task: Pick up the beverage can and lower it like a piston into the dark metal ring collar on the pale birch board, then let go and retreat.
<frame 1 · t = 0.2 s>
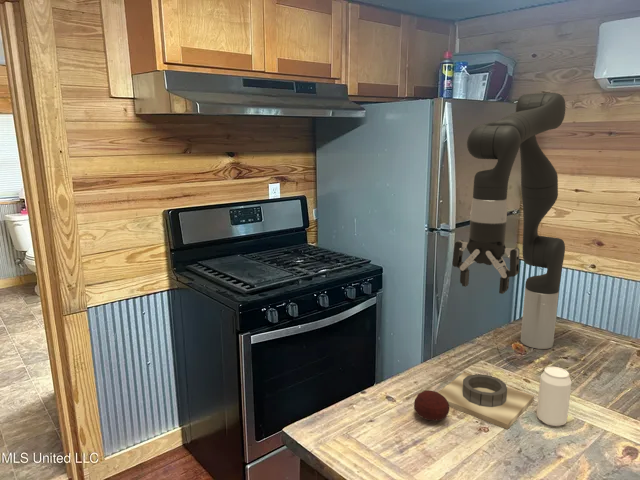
hand: (483, 289, 112), 29 cm above the table, fingers open, 8 cm apart
beverage can: (551, 421, 111), on the table
ring board: (483, 400, 119), on the table
potato: (429, 418, 112), on the table
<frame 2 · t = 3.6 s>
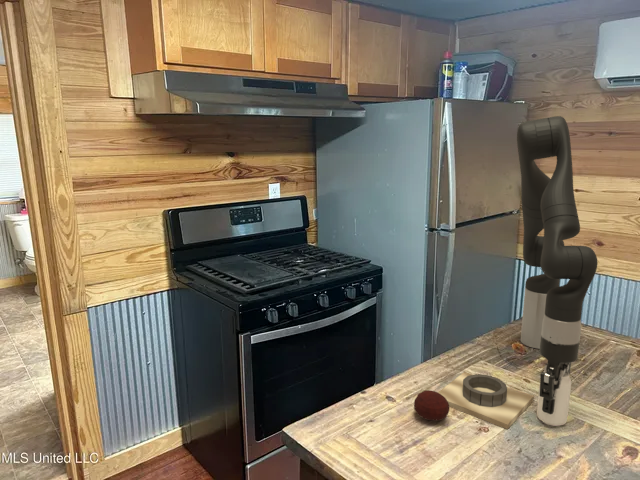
hand: (552, 406, 110), 4 cm above the table, fingers closed on beverage can, 6 cm apart
beverage can: (551, 421, 111), on the table, touching gripper
everything else where it was.
when the fingers open (6 cm above the table, at t = 8.6 s): beverage can drops 1 cm, resting on ring board.
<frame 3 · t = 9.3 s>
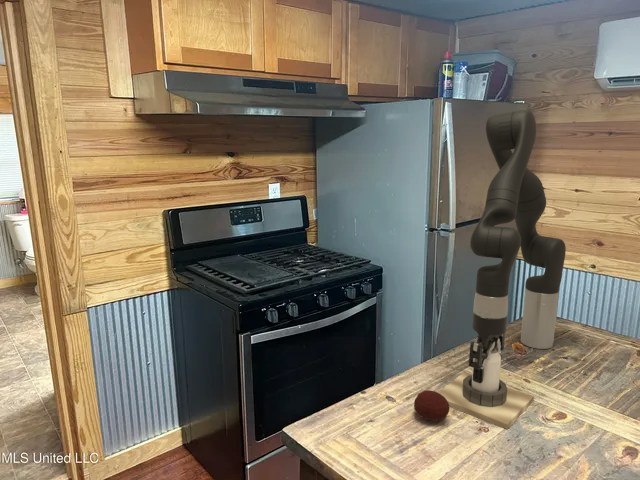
hand: (485, 375, 118), 7 cm above the table, fingers open, 8 cm apart
beverage can: (484, 396, 119), point 1 cm above the table, touching ring board
everything else where it was.
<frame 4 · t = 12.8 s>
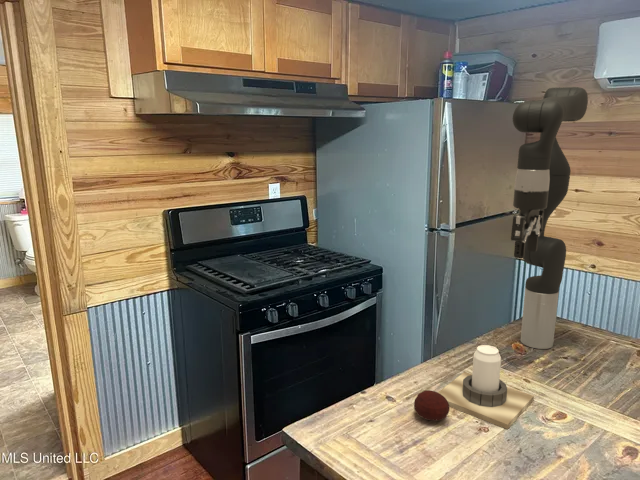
hand: (525, 254, 121), 34 cm above the table, fingers open, 8 cm apart
nothing on the table moved.
at the end: beverage can 0.2 cm from the ring board (horizontally); beverage can tilted 0°; the gripper is holding nothing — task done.
